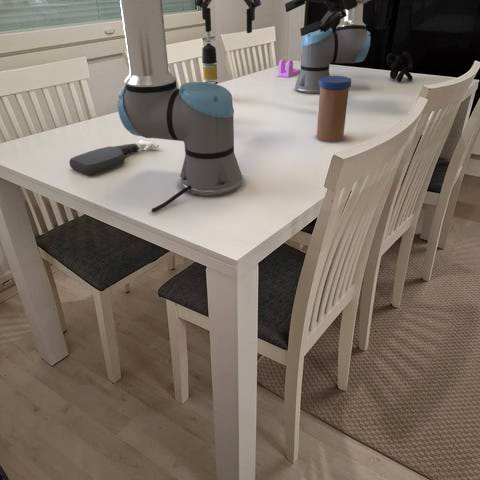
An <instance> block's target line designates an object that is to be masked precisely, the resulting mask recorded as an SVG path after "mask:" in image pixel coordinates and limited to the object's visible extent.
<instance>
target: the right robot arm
mask: <svg viewBox="0 0 480 480" xmlns="http://www.w3.org/2000/svg"><path fill="white" fill-rule="evenodd" d="M370 1H371V0H290V1H288V2H286V3H284V9H285V12H286V13H288V12H290V11H293V10H295V9H297V8H300V7H301V6H303V5H306V2H308V3H309V2H310V3H319V4H324V5H325V6H326V7H327V9H328V10H327V12H326V13H325V14H324V16H322V18H321V20H320V21H318V20H317V21H315V22H312V23H310V24H307V25H305V26H303V27H301V28H299V30H300V36H301V37H302V40H301V55H300V73H299V74H298V77H297V80H296V82H295V87H294V88H295V91H296V92H298V93H301V94H308V95H320V87H319V78H321V77H324V76H331V74H330V64H354V63H355V64H356V63H362V62H364V61H365V59H366V58H367V56H368V52H369V50H370V46H371V32H370V31H368V30H367V25H366V24H365V23H364V21H363V16H364V14H363V13H364V4H367V3H368V2H370ZM338 22H339V23H338ZM337 23H338V24H337ZM335 25H337V26H336V27H335V31H333V27H334V26H335Z"/></svg>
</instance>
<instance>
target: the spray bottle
mask: <svg viewBox="0 0 480 480" xmlns="http://www.w3.org/2000/svg"><path fill="white" fill-rule="evenodd" d="M159 148H160V145H159V144H158V143H155V142H151V141H148V140H144V139H139V140H138V141H137V142H135V143H129V144H128V143H126V144H122V145H113V146H105V147H100V148H97V149H94V150H90V151H87V152H83V153H81V154H78V155H74V156H73V157H70V159H69V161H68V162H69V167H70V168H71V169H72V170H74V171H75V172H78V173H81V174H83V175H85V176H89V177H90V176H91V177H92V176H95V175H99V174H102V173H105V172H107V171H110V170H113V169H116V168H118V167H120V166H122V165H123V164H124V163H125V158H126V156H127V155H131V154H133V153H138V151H140V150H143V151H144V152H146V151H147V150H149V149H159Z"/></svg>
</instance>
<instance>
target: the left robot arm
mask: <svg viewBox="0 0 480 480" xmlns="http://www.w3.org/2000/svg"><path fill="white" fill-rule="evenodd" d="M212 1H213V0H196V1H195V6H197V7H200V8H201V12H202V13H201V16H202V17H201V18H202V20H203V21H204V24H205V33H206V32H210V33H211V32H212V15H211V7H209V5H210V4H211V3H212ZM243 1H244V2H245V4H246V5H247V6H248V8H246V34H251V33H252V32H253V21H255V19H256V8H258V7H260V6H261V5H262V2H261V0H243ZM119 3H120V9H121V17H122V24H123V32H124V37H125V45H126V51H127V58H128V67H129V74H128V76H127V77H126V78H125V80H124V86H123V87H122V89H121V90H120V92H119V94H118V100H117V113H118V116H119V119H120V121H121V124H122V126H123V127H124V128H125V130H126V131H128V132H129V133H130V134H131V135H133V136H137V137H141V138H144V139H159V140H166V141H167V140H169V141H179V142H183V143H184V154H185V155H184V158H183V164H182V168H181V171H180V177H179V183H180V184H179V185H180V188H181V189H180V191H178V192H177V193H175V194H174V195H172V197H170V198H169V199H167V200H166V201H164V202H163V203H161V204H159V205H156V206H155V207H153V208H151V212H152V213H156V212H157V211H159V210H162V209H163V208H165V207H167V206H168V205H170V204H171V203H173V202H174V201H176V200H177V199H178V198H179V197H181V196H182V195H184V194H185V193H187V194H190V195H194V196H199V197H221V196H224V195H229V194H232V193H234V192H235V191H237V190H239V189H240V188H241V187H242V185H243V174H242V171H241V168H240V165H239V163H238V160H237V157H236V154H235V132H234V131H235V129H234V127H235V126H234V122H235V121H234V114H235V109H234V104H233V96H232V93H231V91H230V90H228V89H227V88H226V87H224V86H222V85H219V84H218V83H217V84H215V83H214V82H207V81H199V82H198V81H189V82H185V83H183V84H181V85H180V87H179V88H177V87H178V86H177V77H176V76H175V75H174V74H173V73H171V71H170V70H169V60H168V52H167V51H168V50H167V40H166V30H165V21H164V18H165V17H164V10H163V9H164V7H163V0H119Z"/></svg>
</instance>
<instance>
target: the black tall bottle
mask: <svg viewBox="0 0 480 480" xmlns="http://www.w3.org/2000/svg"><path fill="white" fill-rule="evenodd" d="M205 33H206V39H207V40H206V42H207V43H206V45H204V46H202V49H201V50H202V51H201V52H202V54H201V55H202V57H201V58H202V61H201V63H202V71H203V72H202V73H203V74H202V75H203V80H204V81H206V82H207V83H214V84H217V85H218V84H219V82H218V81H216V80H218V64H216V63H218V61H217V48H216V47H215V46H214V45H212V43H210V42H211V40H210V39H211V31H210V32H206V31H205Z"/></svg>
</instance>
